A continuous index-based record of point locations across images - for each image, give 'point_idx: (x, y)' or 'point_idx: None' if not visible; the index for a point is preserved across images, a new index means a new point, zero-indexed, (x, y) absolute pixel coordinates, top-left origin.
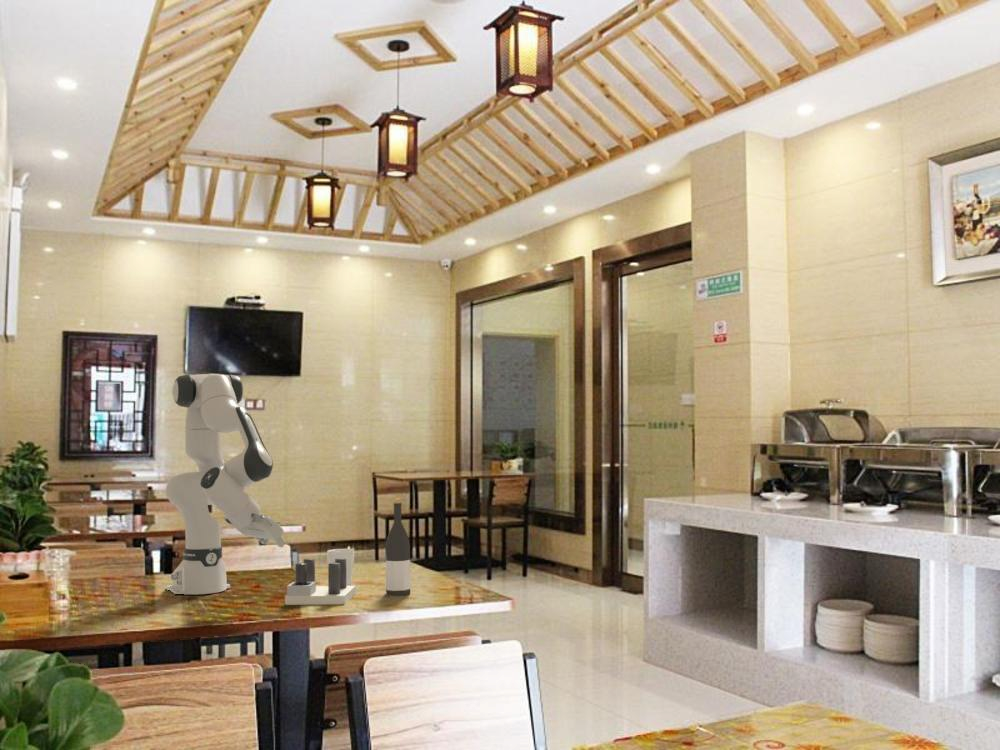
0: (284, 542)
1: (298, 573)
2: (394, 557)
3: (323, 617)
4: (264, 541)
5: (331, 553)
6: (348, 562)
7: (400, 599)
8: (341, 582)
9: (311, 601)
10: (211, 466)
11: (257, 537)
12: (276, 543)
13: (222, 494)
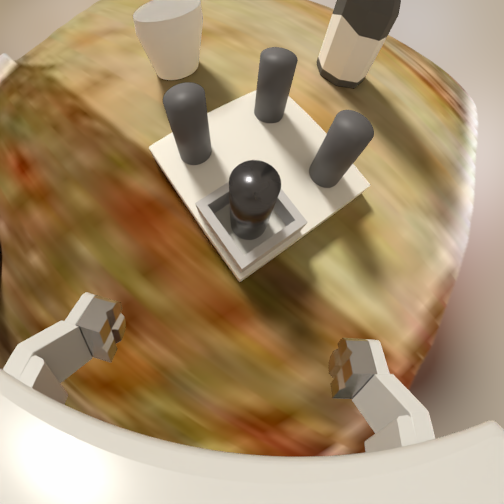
0: (380, 348)
1: (260, 217)
2: (382, 34)
3: (430, 327)
4: (114, 340)
5: (161, 24)
6: (201, 25)
7: (391, 111)
8: (283, 109)
9: (302, 236)
10: None
11: (62, 372)
12: (340, 397)
13: None
